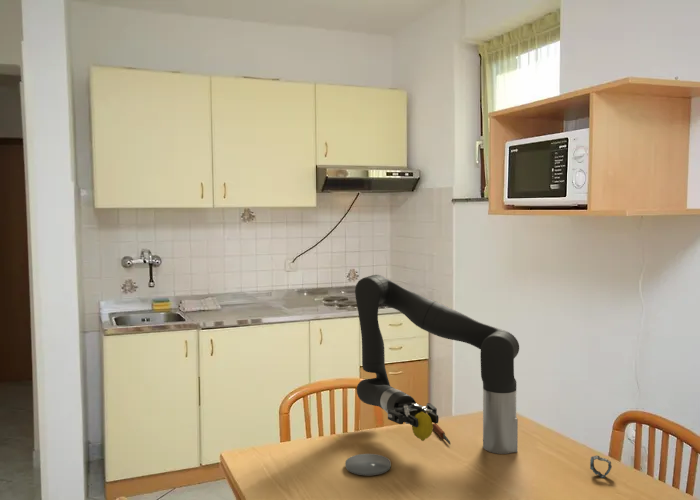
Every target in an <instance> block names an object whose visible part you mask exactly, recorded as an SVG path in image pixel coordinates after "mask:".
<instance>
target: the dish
mask: <svg viewBox="0 0 700 500" xmlns="http://www.w3.org/2000/svg"><path fill="white" fill-rule="evenodd" d="M344 465H345V469H346V470H347V471H348V472H350V473H352V474H353V475H354V474H355V475H359V476H366V477H367V476H378V475H381V474H385V473H386V472H388V471H390V469H391V467H392V466H391V465H392V464H391V459H389V458H388V457H386V456H384V455H380V454H378V453H359V454H355V455H352V456H350V457H348V458H347V459H346V460H345V463H344Z"/></svg>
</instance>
